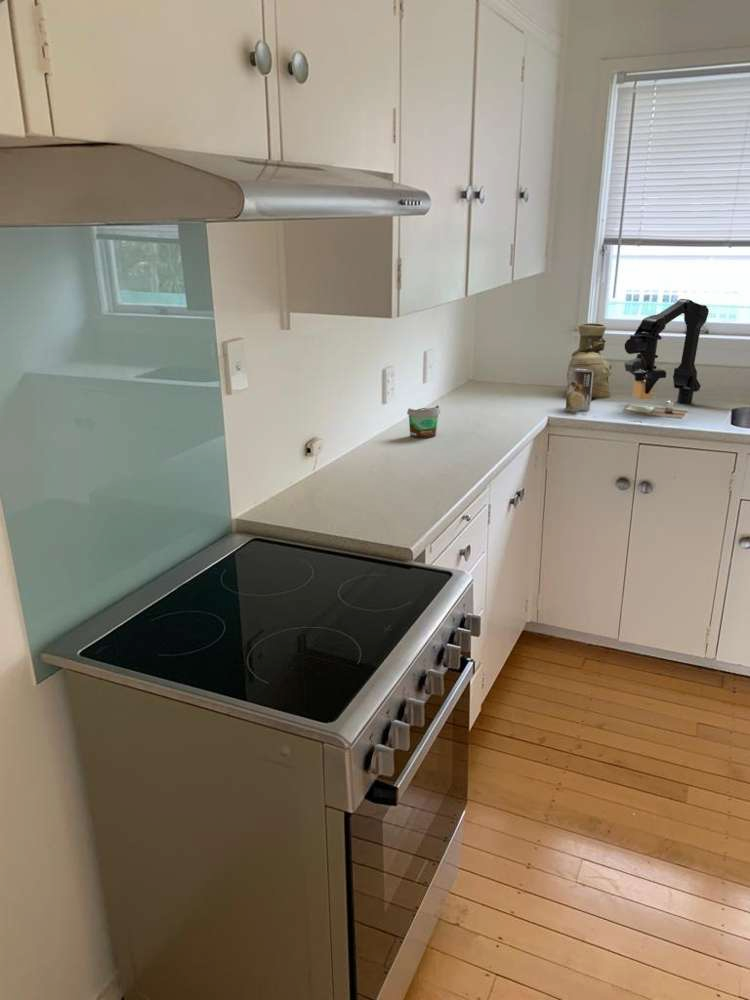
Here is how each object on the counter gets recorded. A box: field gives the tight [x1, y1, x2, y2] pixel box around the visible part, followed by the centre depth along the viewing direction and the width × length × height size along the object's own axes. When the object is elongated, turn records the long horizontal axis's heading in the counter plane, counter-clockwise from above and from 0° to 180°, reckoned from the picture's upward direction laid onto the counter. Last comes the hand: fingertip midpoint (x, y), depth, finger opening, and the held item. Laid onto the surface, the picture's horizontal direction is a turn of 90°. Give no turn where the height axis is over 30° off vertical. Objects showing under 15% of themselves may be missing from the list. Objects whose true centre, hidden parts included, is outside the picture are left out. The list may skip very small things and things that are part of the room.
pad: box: [626, 404, 656, 413], centre depth 292 cm, size 9×9×1 cm
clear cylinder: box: [664, 399, 675, 414], centre depth 287 cm, size 3×3×4 cm
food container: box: [406, 404, 441, 440], centre depth 255 cm, size 12×6×10 cm, turn 117°
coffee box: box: [564, 368, 594, 413], centre depth 291 cm, size 9×6×16 cm
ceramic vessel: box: [566, 322, 612, 400], centre depth 314 cm, size 19×21×30 cm
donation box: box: [632, 380, 654, 400], centre depth 290 cm, size 5×5×6 cm
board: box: [621, 403, 689, 420], centre depth 290 cm, size 14×22×1 cm, turn 59°
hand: (642, 392), depth 290 cm, fingers closed on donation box, 5 cm apart
